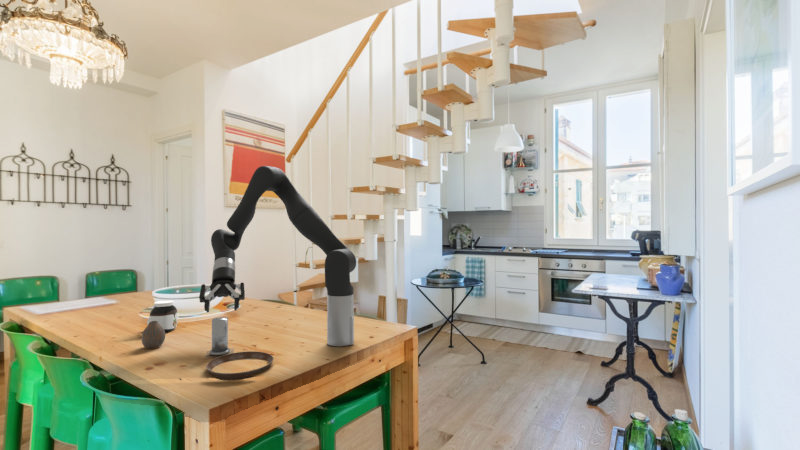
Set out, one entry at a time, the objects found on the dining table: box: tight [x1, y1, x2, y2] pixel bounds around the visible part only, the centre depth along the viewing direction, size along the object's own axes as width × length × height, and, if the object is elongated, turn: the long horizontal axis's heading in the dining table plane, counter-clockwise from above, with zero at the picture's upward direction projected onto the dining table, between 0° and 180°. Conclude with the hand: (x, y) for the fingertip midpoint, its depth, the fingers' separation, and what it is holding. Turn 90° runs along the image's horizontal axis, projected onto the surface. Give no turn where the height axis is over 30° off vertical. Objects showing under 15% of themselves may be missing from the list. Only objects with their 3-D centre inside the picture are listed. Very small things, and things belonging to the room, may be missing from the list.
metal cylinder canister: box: [209, 316, 231, 356], centre depth 122 cm, size 6×6×11 cm
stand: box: [204, 348, 235, 360], centre depth 122 cm, size 8×8×1 cm
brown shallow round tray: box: [206, 350, 274, 381], centre depth 109 cm, size 18×18×3 cm
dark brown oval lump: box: [140, 321, 166, 350], centre depth 132 cm, size 7×7×9 cm
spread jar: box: [146, 300, 179, 334], centre depth 154 cm, size 12×11×12 cm
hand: (221, 310), depth 129 cm, fingers open, 8 cm apart
